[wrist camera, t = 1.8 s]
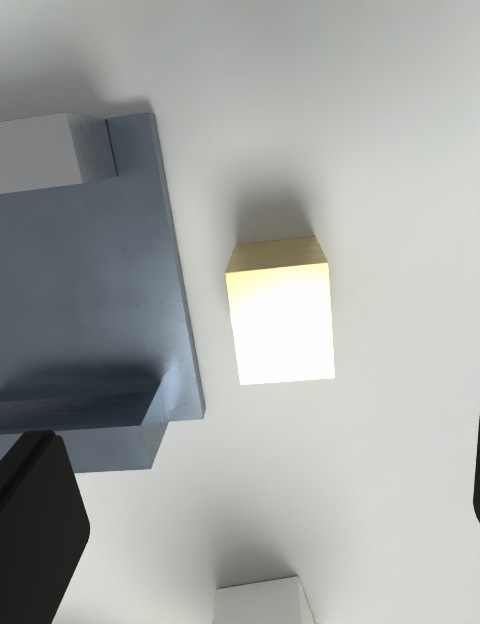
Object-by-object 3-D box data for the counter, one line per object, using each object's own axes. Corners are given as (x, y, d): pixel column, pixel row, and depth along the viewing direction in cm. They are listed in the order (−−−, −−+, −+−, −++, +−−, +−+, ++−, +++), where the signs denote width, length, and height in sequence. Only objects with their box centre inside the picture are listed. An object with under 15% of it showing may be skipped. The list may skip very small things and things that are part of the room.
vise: (154, 114, 20) (119, 104, 16) (205, 409, 26) (191, 466, 21) (-118, 153, 22) (-223, 154, 17) (-15, 424, 27) (-75, 481, 23)
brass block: (314, 235, 22) (328, 262, 17) (321, 327, 24) (334, 377, 19) (235, 244, 22) (225, 273, 17) (247, 334, 24) (240, 384, 19)
